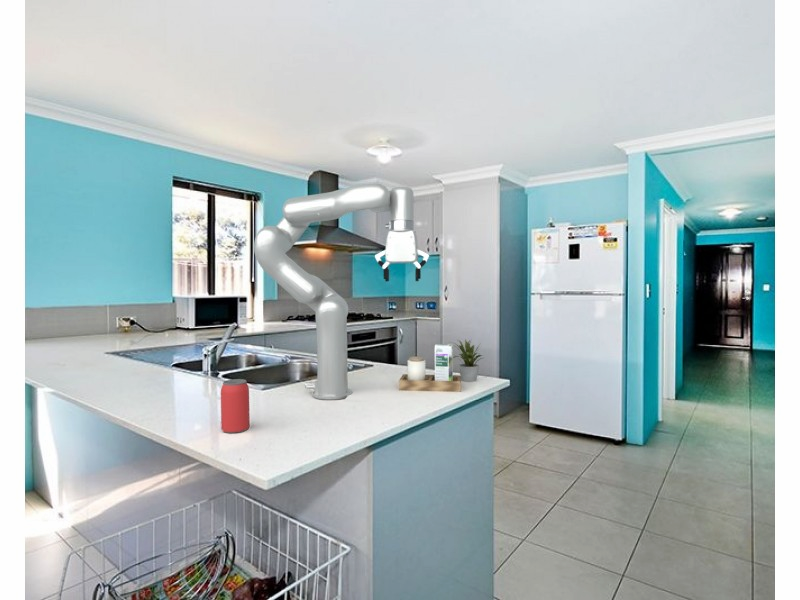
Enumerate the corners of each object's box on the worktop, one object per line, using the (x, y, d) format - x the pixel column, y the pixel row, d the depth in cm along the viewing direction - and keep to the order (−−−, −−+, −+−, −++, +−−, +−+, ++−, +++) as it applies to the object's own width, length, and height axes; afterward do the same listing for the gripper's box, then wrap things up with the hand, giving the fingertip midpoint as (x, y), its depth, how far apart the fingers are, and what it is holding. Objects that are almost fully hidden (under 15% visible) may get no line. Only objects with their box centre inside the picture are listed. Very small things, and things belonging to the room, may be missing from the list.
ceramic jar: (406, 388, 156) (406, 358, 156) (408, 384, 162) (408, 355, 162) (424, 389, 155) (424, 359, 155) (426, 385, 161) (426, 356, 161)
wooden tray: (398, 392, 154) (398, 380, 154) (403, 385, 164) (403, 374, 164) (460, 394, 151) (460, 381, 151) (460, 387, 162) (460, 375, 162)
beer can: (225, 426, 119) (224, 378, 119) (252, 425, 120) (251, 378, 119) (217, 434, 112) (216, 384, 112) (246, 433, 113) (245, 383, 113)
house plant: (437, 380, 172) (437, 336, 171) (466, 376, 180) (466, 333, 179) (463, 388, 160) (463, 340, 159) (493, 383, 168) (493, 337, 167)
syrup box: (434, 389, 155) (434, 345, 154) (436, 385, 161) (436, 343, 160) (451, 390, 154) (451, 345, 153) (453, 386, 160) (453, 343, 159)
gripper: (372, 226, 147) (373, 281, 148) (428, 225, 145) (428, 281, 145) (377, 229, 155) (377, 281, 155) (429, 228, 152) (430, 281, 153)
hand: (402, 281), depth 150 cm, fingers open, 9 cm apart
